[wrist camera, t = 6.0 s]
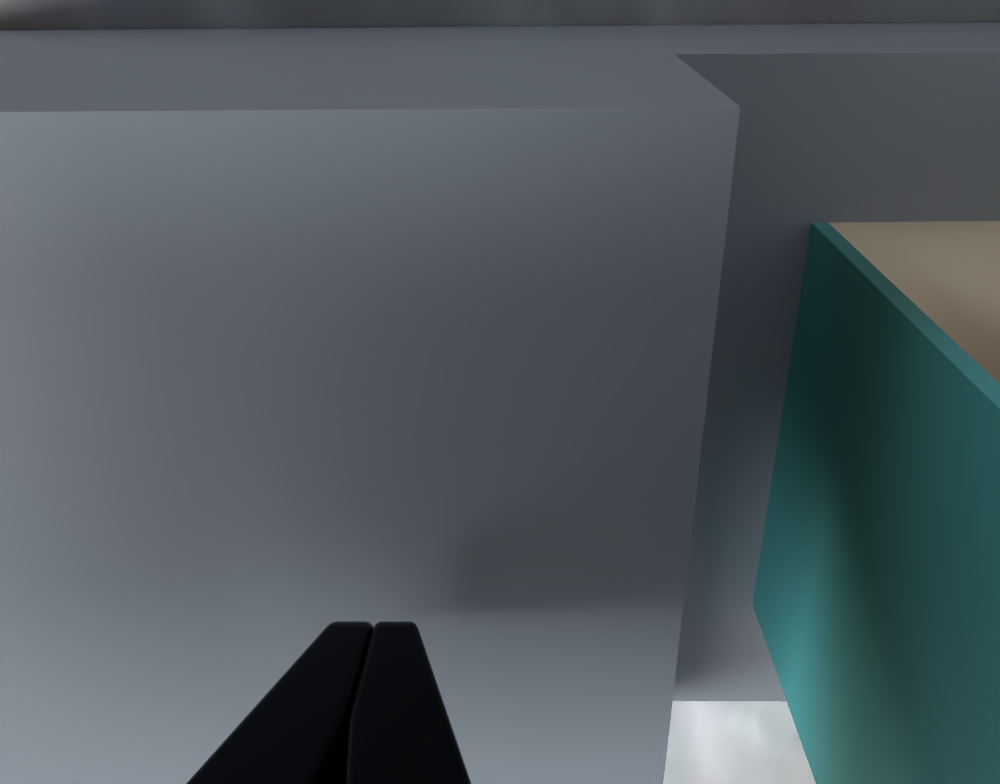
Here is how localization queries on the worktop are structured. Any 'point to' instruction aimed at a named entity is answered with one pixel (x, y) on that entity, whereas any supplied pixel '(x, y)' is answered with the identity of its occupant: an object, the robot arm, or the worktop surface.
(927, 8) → the worktop surface
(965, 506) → the maple cube
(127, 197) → the slate stair
